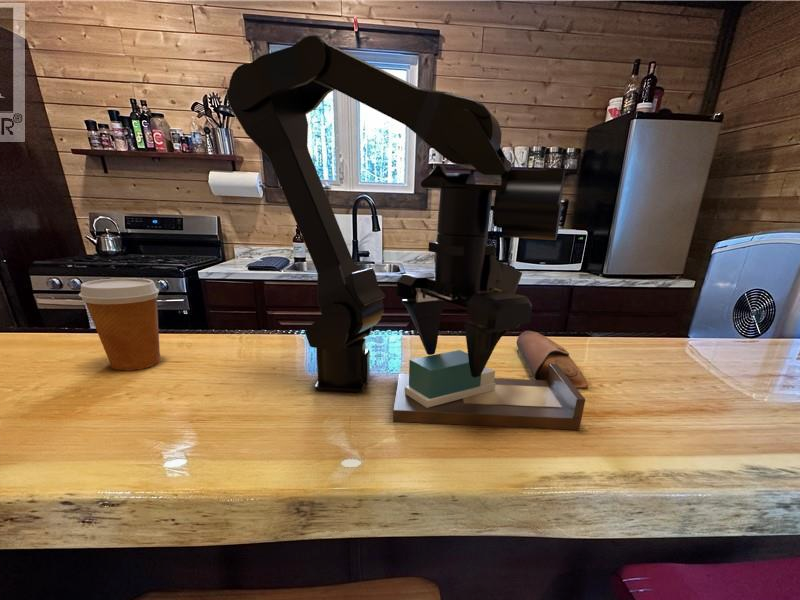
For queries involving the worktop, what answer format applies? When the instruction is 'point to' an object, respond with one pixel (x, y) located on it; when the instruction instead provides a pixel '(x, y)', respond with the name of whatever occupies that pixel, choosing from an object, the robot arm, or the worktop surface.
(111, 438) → the worktop surface
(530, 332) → the sunglasses case
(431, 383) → the teal block
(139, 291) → the disposable coffee cup
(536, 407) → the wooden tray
